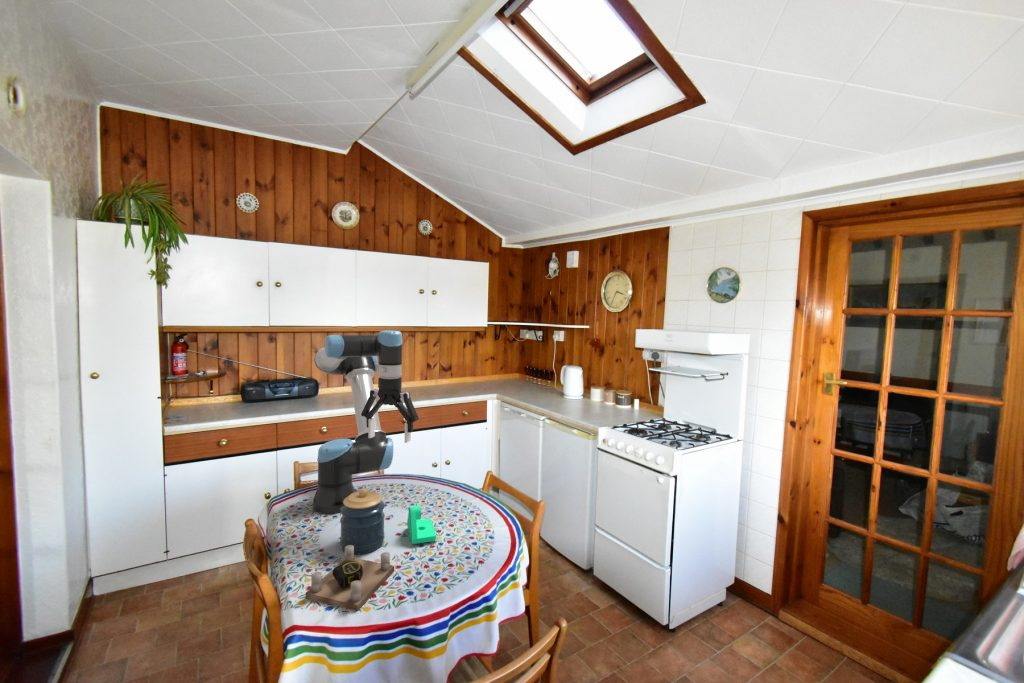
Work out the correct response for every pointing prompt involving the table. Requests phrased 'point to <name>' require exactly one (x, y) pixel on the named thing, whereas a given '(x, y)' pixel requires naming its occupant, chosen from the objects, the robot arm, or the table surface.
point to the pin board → (345, 593)
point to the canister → (362, 521)
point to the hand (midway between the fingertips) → (389, 439)
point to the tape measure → (348, 573)
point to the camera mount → (419, 526)
